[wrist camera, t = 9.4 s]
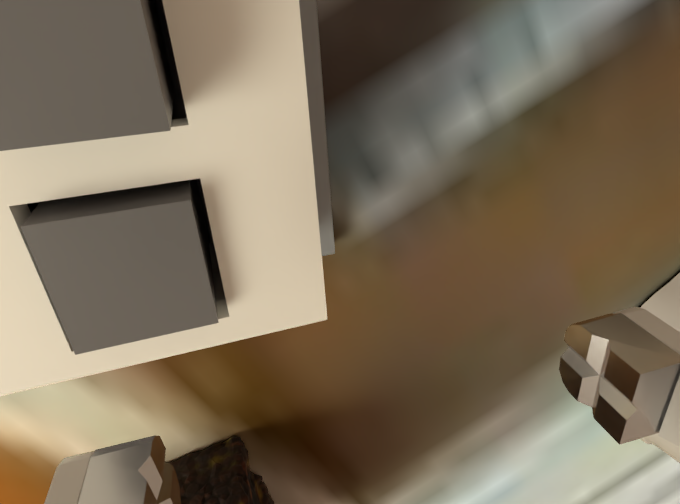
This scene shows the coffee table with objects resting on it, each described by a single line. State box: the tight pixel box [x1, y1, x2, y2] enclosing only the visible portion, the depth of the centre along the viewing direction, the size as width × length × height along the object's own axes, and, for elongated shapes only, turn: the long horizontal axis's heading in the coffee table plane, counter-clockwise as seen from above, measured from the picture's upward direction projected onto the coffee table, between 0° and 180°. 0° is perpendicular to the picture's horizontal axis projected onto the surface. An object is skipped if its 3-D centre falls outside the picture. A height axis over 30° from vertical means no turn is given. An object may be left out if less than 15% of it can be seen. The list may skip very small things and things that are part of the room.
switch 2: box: [21, 179, 219, 355], centre depth 14 cm, size 4×4×6 cm
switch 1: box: [0, 0, 175, 151], centre depth 10 cm, size 4×4×6 cm
